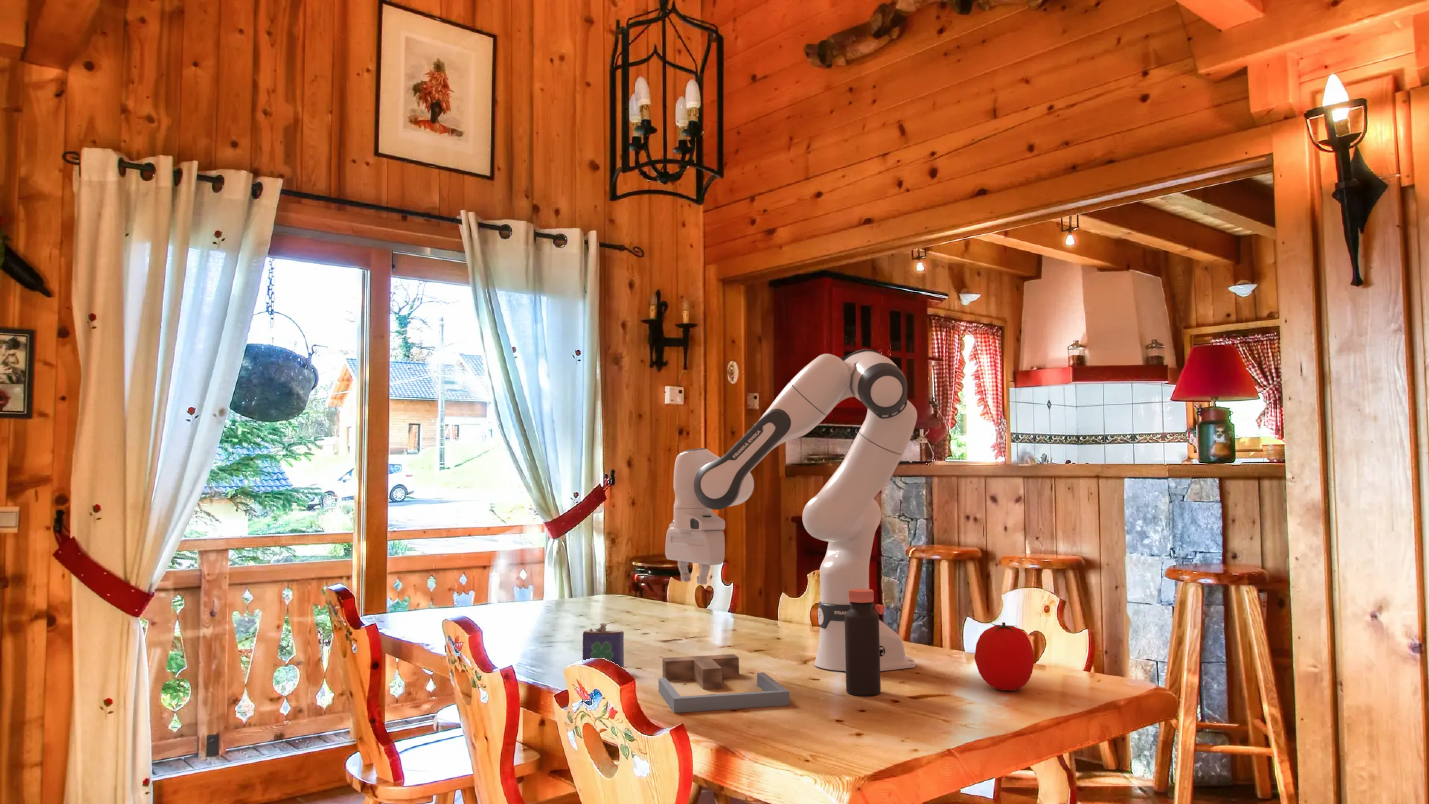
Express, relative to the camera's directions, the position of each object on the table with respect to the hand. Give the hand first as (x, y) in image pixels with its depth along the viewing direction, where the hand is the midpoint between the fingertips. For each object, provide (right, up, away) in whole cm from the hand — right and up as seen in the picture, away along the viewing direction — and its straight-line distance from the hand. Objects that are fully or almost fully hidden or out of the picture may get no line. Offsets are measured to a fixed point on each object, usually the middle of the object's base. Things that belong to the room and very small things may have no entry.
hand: (693, 582), depth 210 cm
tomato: (+62, -17, -24) cm, 69 cm away
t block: (+3, -18, -13) cm, 23 cm away
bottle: (+34, -17, -25) cm, 46 cm away
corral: (+6, -17, -28) cm, 34 cm away
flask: (-20, -20, -2) cm, 28 cm away
